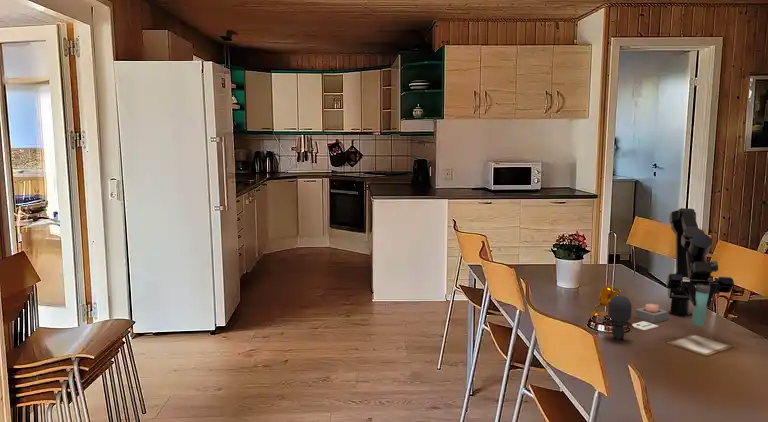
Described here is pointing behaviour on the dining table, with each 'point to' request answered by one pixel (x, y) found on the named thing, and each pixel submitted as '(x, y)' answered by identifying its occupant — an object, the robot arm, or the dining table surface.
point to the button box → (651, 315)
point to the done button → (652, 308)
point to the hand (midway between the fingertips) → (701, 306)
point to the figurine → (605, 299)
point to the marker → (700, 304)
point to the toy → (619, 315)
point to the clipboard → (700, 345)
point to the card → (644, 325)
